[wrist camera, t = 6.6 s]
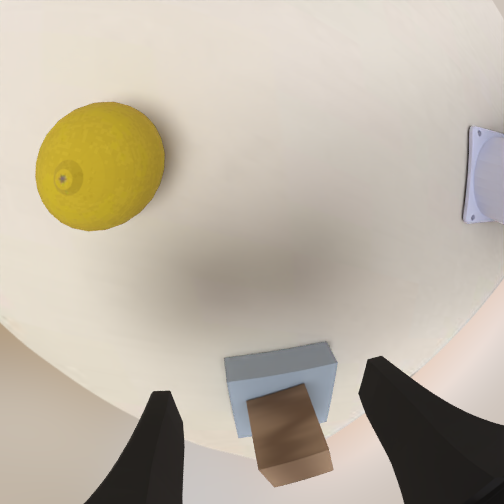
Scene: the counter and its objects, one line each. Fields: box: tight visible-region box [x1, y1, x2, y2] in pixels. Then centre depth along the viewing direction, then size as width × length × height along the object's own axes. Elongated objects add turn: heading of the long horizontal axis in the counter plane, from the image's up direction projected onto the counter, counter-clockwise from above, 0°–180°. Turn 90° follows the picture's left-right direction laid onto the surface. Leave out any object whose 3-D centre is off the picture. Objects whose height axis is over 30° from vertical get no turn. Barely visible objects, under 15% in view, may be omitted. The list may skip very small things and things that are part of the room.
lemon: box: [35, 102, 165, 231], centre depth 11 cm, size 6×6×8 cm
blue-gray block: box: [224, 342, 338, 438], centre depth 22 cm, size 8×8×3 cm
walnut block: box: [246, 383, 333, 487], centre depth 18 cm, size 4×4×6 cm
